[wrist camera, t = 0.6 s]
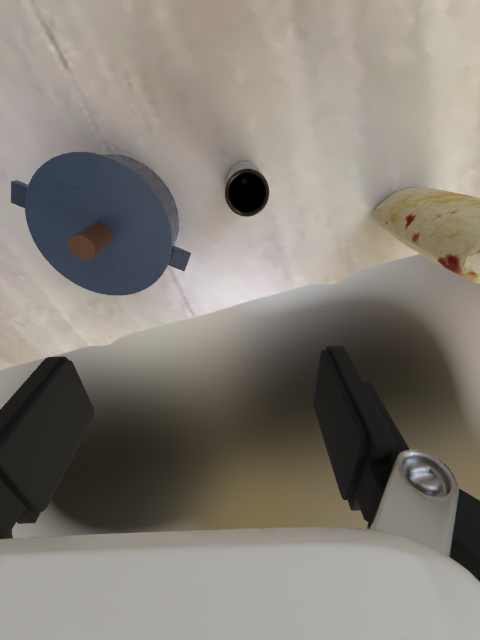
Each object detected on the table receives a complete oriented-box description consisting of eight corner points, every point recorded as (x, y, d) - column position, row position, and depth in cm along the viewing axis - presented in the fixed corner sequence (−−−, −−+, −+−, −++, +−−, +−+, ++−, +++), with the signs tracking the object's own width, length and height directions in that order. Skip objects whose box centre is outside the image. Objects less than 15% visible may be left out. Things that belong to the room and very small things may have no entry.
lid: (154, 307, 39) (141, 333, 34) (28, 263, 36) (-7, 284, 30) (192, 194, 31) (183, 205, 26) (35, 120, 28) (-11, 116, 22)
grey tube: (244, 206, 39) (247, 225, 30) (220, 181, 37) (215, 195, 28) (268, 179, 37) (278, 192, 28) (243, 152, 35) (246, 157, 27)
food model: (362, 232, 41) (451, 297, 24) (377, 181, 37) (493, 217, 21) (427, 234, 41) (559, 301, 25) (447, 185, 38) (618, 223, 21)
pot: (178, 288, 46) (169, 312, 39) (41, 236, 41) (6, 254, 34) (212, 196, 38) (207, 208, 32) (50, 119, 33) (7, 114, 27)
